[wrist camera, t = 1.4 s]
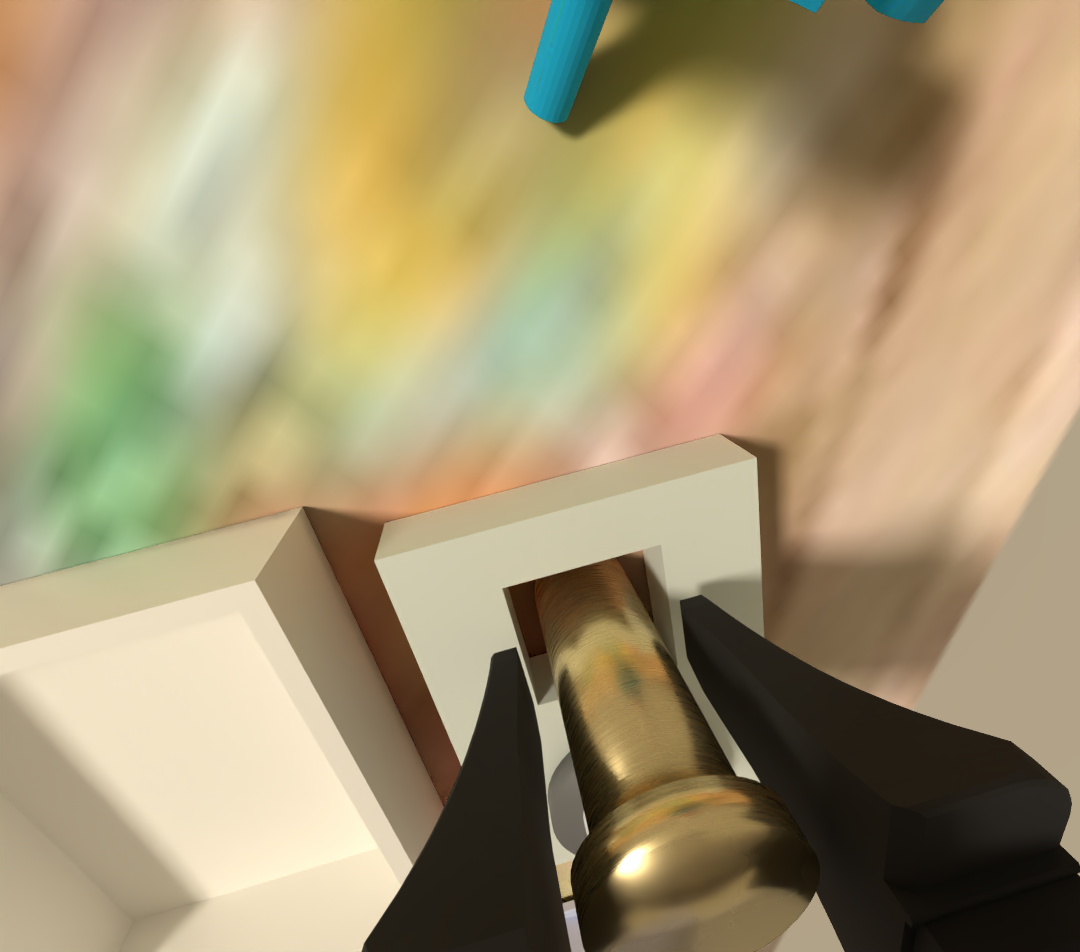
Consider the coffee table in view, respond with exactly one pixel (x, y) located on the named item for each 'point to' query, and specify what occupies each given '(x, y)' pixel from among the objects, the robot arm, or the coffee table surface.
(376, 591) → the coffee table surface
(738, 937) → the pin
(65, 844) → the tray
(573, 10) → the gear
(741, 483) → the block
